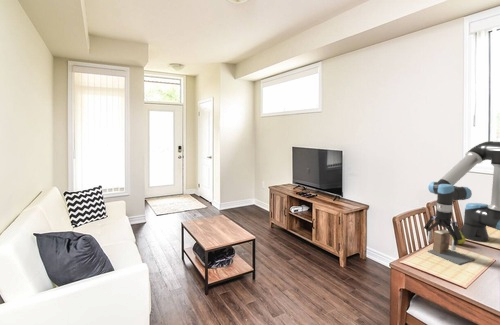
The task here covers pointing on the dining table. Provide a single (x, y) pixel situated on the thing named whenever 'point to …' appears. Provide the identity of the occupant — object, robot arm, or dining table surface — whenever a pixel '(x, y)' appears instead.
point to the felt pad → (453, 256)
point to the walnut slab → (441, 241)
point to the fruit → (461, 240)
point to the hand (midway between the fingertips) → (441, 245)
